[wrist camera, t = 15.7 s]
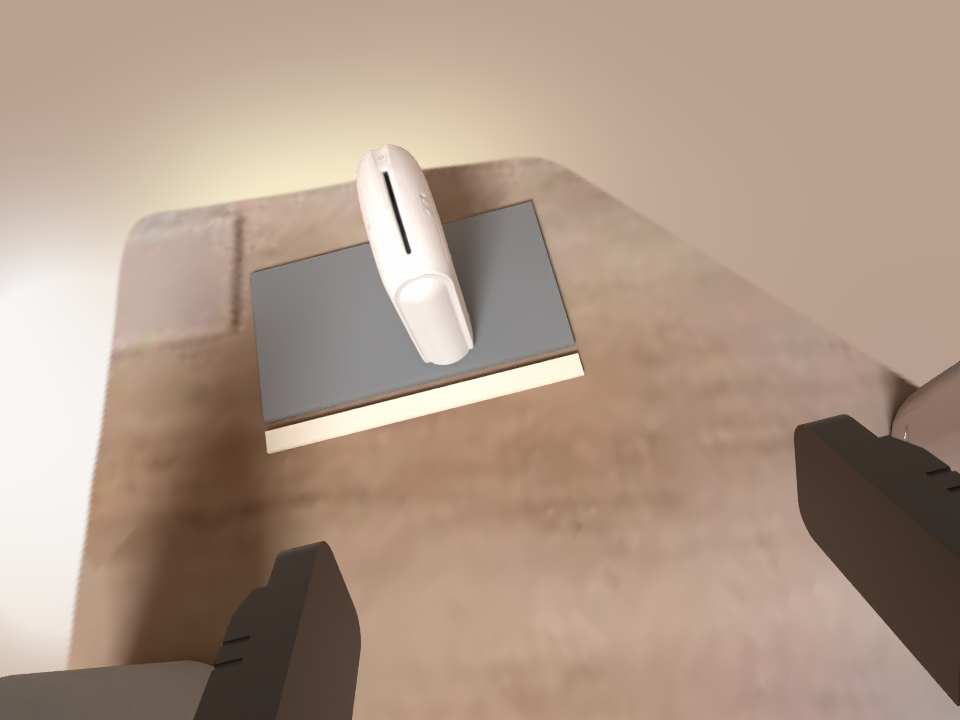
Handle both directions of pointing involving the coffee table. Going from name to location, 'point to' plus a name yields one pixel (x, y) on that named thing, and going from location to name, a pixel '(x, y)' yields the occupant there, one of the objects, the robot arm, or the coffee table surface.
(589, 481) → the coffee table surface
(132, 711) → the water bottle
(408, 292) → the photo printer
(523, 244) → the mat
